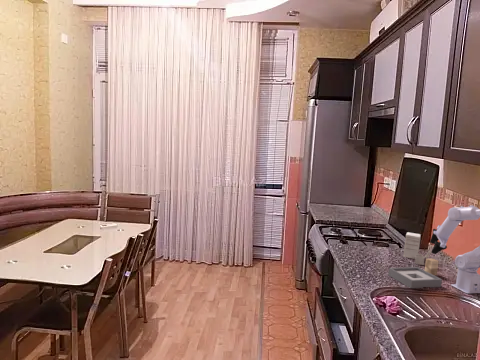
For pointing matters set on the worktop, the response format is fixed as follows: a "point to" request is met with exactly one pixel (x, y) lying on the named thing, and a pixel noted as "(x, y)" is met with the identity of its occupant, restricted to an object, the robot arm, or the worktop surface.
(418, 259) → the translucent grey slab
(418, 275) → the hole box
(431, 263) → the peg
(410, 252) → the supplement box
